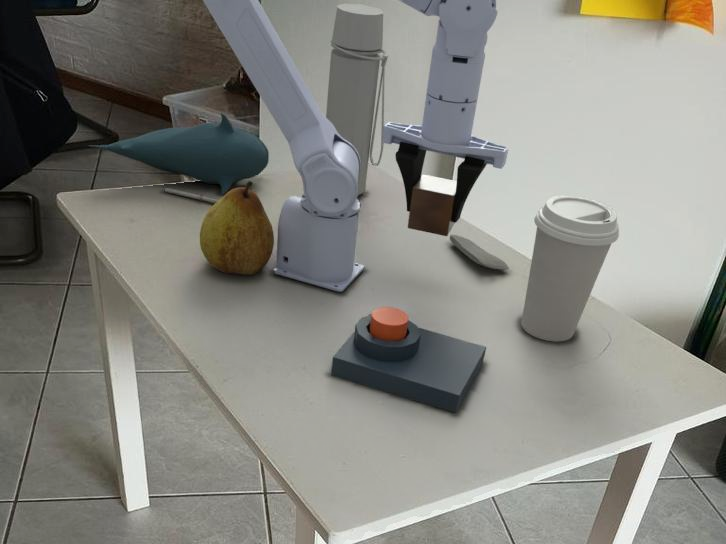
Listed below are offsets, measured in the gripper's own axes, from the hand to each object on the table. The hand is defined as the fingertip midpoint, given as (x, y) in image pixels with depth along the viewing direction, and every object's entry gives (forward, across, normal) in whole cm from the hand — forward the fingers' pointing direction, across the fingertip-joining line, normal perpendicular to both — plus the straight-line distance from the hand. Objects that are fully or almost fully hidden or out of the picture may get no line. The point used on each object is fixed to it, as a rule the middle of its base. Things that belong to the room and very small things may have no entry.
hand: (433, 214), depth 100 cm
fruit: (+9, +22, +9) cm, 26 cm away
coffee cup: (+10, -17, +2) cm, 20 cm away
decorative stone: (+9, -6, -14) cm, 17 cm away
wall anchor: (+9, +38, -7) cm, 39 cm away
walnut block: (+1, 0, 0) cm, 1 cm away
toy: (+3, +38, -8) cm, 39 cm away
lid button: (+6, -2, +20) cm, 21 cm away
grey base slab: (+9, -5, +20) cm, 23 cm away
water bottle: (+9, +20, -24) cm, 32 cm away
